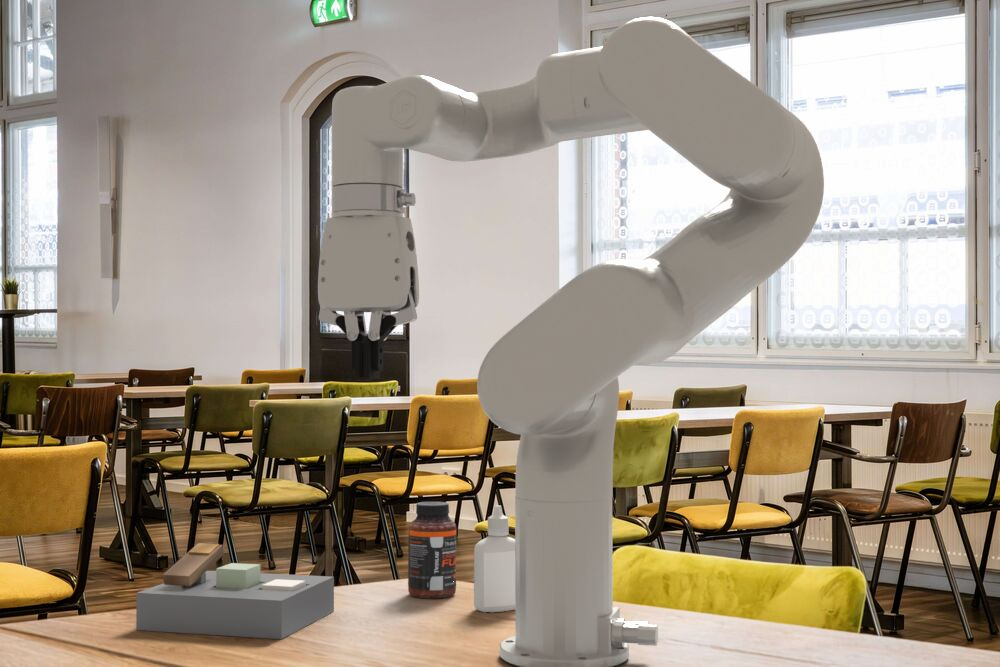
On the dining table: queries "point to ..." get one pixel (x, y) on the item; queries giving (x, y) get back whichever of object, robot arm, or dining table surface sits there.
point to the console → (234, 607)
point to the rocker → (193, 564)
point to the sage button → (238, 576)
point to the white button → (284, 585)
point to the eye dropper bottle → (495, 567)
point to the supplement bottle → (432, 552)
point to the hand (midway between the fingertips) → (367, 378)
